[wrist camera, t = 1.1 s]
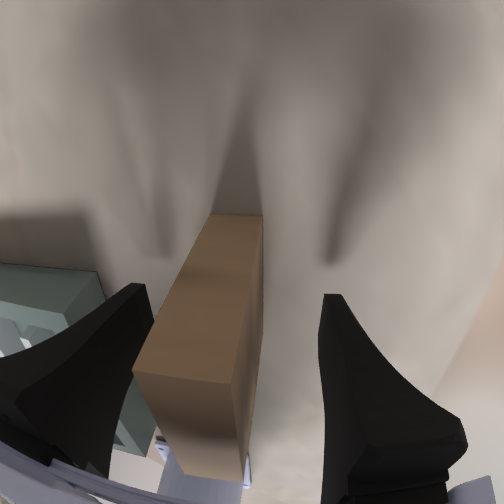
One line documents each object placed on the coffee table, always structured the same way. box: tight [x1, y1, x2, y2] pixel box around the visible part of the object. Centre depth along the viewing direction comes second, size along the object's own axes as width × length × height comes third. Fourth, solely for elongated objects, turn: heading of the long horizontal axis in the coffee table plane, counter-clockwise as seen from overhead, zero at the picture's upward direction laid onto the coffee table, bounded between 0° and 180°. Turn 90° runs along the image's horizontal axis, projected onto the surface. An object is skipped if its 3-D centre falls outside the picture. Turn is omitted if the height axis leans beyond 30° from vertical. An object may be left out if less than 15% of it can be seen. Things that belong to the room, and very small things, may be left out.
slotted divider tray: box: [0, 263, 157, 457], centre depth 17 cm, size 14×14×3 cm
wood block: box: [132, 215, 263, 482], centre depth 10 cm, size 6×2×8 cm, turn 1°
